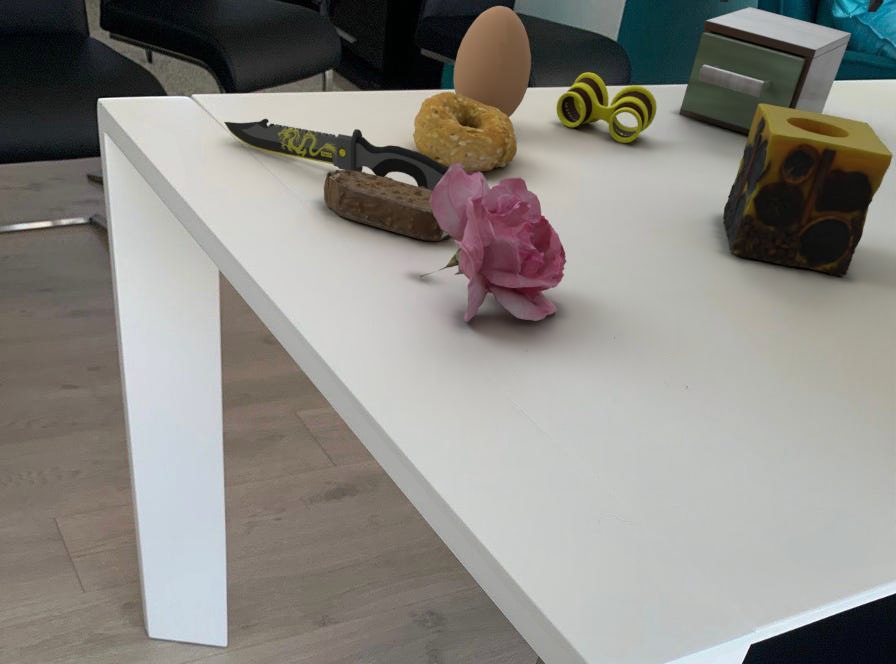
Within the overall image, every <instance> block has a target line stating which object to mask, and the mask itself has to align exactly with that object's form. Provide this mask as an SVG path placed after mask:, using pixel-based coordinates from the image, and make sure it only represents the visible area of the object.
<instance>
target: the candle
mask: <svg viewBox="0 0 896 664" xmlns="http://www.w3.org/2000/svg"><path fill="white" fill-rule="evenodd" d="M893 156H894V154H893V153H892V152H891V150H889V148H888V147H887V146H886V145H885V143H884V142H883V141H882V140H881V139H880V137H879V136H878V135H877V134H876V132H875V130H874V129H873V128H872V126H870V124H869V123H867V122H864V121H860V120H854V119H849V118H845V117H840V116H837V115H830V114H825V113H822V114H819V113H814V112H808V111H802V110H796V109H791V108H785V107H779V106H774V105H769V104H758V107H757V110H756V113H755V116H754V119H753V122H752V125H751V129H750V132H749V135H747V139H746V143H745V146H744V149H743V155H742V157H741V160H740V162H739V166H738V171H737V173H736V176H735V179H734V182H733V184H732V185H731V187H730V188H731V189H730V191H729V193H728V196H727V201H726V202H725V205H724V208H723V216H722V219H723V225H724V230H725V235H726V238H727V239H728V245H729V251H730V252H731V253H732V254H734V255H736V256H739V257H742V258H745V259H750V260H751V259H752V260H758V261H763V262H768V263H772V264H775V265H776V264H777V265H781V266H789V267H798V268H806V269H810V270H815V271H818V272H823V273H826V274H830V275H834V276H839V277H840V276H846V275H847V274H848V271H849V269H850V265H851V263H852V261H853V256H854V254H855V251H856V248H857V247H858V246H859V244H860V241H861V240H862V237H863V234H864V228H865V225H866V220H867V216H868V212H869V208H870V207H869V206H870V205H871V203H872V201H873V198H874V196H875V194H876V193H877V192H878V191H879V189H880V187H881V185H882V183H883V180H884V177H885V176H886V173H887V172H888V169H889V168H890V166H891V163H892V159H893Z"/></svg>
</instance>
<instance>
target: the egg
mask: <svg viewBox="0 0 896 664" xmlns="http://www.w3.org/2000/svg"><path fill="white" fill-rule="evenodd" d="M531 65H532V54H531V48H530V41H529V38H528V33H527V31H526V28H525V26H524V24H523V22H522V20H521V19H520V17H519V16H518V15H517V13H516V12H515V11H514V10H512V9H511V8H509V7H507V6H503V5H496V6H492V7H490V8H488V9H486V10H484V11H483V12H481V13H480V14H479V15H478V17H476V19H475V20H474V21H472V24H471V25H470V27H468V29H467V31H466V33H465V35H464V36H463V38H462V40H461V42H460V45H459V48H458V50H457V54H456V59H455V63H454V68H453V87H454V88H453V89H454V94H460V95H463V96H466V97H468V98H470V99H472V100H475V101H478V102H480V103H482V104H485V105H487V106H492V107H495V108H497V109H499V110H500V111H501V112H502V113H504V114H506V115H507V116H508V118H509V119H510V117H512V115H514V114H515V112H516V111H517V109H518V108H519V106H520V105H521V103H522V102H523V100H524V97H525V95H526V93H527V90H528V86H529V81H530V75H531V68H532V66H531Z"/></svg>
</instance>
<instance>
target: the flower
mask: <svg viewBox="0 0 896 664" xmlns="http://www.w3.org/2000/svg"><path fill="white" fill-rule="evenodd" d="M429 203H430V205H431V208H432V211H433V215H434V216H435V218H436V220H437V222H438V224H439V227H440V229H441V230H443V231H444V232H446V233H447V234H449V235H450V237H452V238H453V239H454V243H455V244H456V245H457V246H458V247H459V248H458V249H457V250H456V252H455V253H454V255H453V256H452V257H451V258H450V260H449V261H448V263H447V264H446V266H444V267H442V268H440V269H438V270H437V271H433V272H428V273H425V274H421V275H419V278H422V277H425V276H428V275H431V274H434V273H436V272H439V271H441V270H444V269H448V268H449V269H450V268H453V267H457V266H458V267H457V268H458V271H457V272H455V273H454V275H455V276H457V275H464V276H465V277H466V278H467V279H468V280H469V281H468V283H467V285H466V286H467V309H466V311H465V313H464V316H463V320H464V322H465V323H467V324H468V323H469V322H470V321H471V320H472V319H473V318H474V317H475V315H476V314H478V312H479V309H480V307H481V306H482V305H483V304H484V301H485V300H486V297H487V295H488V294H492V295H493V297H494V299H495V300H496V301H497V302H498V303H499V304H500V305H501V306H502V307H503V308H504V309H505V310H506V311H508V312H509V313H510V314H511V315H512V316H514V317H515V318H517V319H521V320H525V321H526V320H528V321H533V322H536V321H541V320H545V319H546V317H547V315H548V316H550V315H552V314H554V313H556V312H557V311H558V309H557V307H556V306H555V305H554V303H553V302H551V301H550V300H549V299H548V298H546V297H547V296H545V295H544V293H543V292H544V291H547V290H549V289H554V288H556V287H558V286H559V283H561V282H562V280H563V278H564V276H565V274H564V273H563V271H565V269H566V268H565V264H566V263H567V262H568V261H567V259H566V251H565V249H564V246H563V244H562V242H561V239H560V236H559V233H558V232H557V231H556V230H555V229H554V227H553V226H552V225H551V223H550V222H549V220H548V219H546V217H545V215H542V207H541V202H540V200H539V197H538V195H537V194H536V193H534V192H533V191H531V190H529V189H528V187H527V183H526V180H524V179H523V178H521V176H519V177H508V178H502V179H500V180H499V182H498V183H497V184H496V185H493V186H492V187H490V186H489V182H488V181H487V178H486V177H485V175H484V174H483V172H480V171H476V172H469V173H466V172H465V171H464V170H463V169H462V165H461V163H453V164H451V165H450V167H449V168H448V170H447V172H446V173H445V175H444V176H443V177H442V179H441V180H440V181H439V182H438V184H437V185H436V186H435V188H434V190H433V192H432V194H431V197H430V200H429Z"/></svg>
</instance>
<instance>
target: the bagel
mask: <svg viewBox="0 0 896 664" xmlns="http://www.w3.org/2000/svg"><path fill="white" fill-rule="evenodd" d="M413 125H414V133H412V137H413V142H414V144H415V145H416V149H417V150H418V151H419V152H418V153H421V154H423V155H426V156H428V157H429V158H431V159H433V160H435V161H436V162H438V163H440V164H441V165H443V166H444V167H446V168H448V169H449V167H450V165H451V164H453V163H461V165H462V169H463V170H464V171H465V172H466V173H470V172H476V171H480V172H481V173H483V172H488V171H489V172H490V171H492V170H493V169H494V168H505V167H506V166H507V165H508V163H509V162H512V161H513V159H514V157H515V156H516V154H517V151H518V148H517V147H518V146H517V145H518V143H517V138H516V136H515V133H514V126H513V122H512V120H511V119H510V117H509V118H508V116H507V115H506V114H504V113H502V112H501V111H500V110H499V109H497V108H495V107H492V106H487V105H485V104H482V103H480V102H478V101H475V100H472V99H470V98H468V97H466V96H463V95H460V94H455V91H454V92H453V91H445V92H444V91H443V92H440V93H436V94H434V95H432V96H431V97H426V98H425V99H424V100H423V101H422V102H421V106H420V109H419V111H418V112H417V114H416V115H415V118H414V121H413Z"/></svg>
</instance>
